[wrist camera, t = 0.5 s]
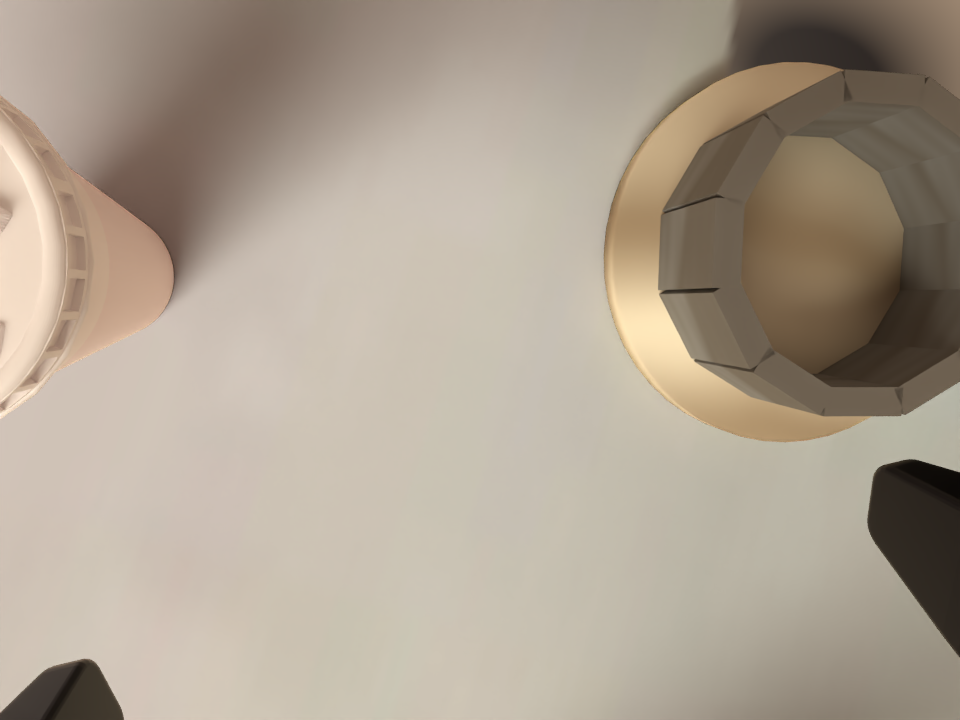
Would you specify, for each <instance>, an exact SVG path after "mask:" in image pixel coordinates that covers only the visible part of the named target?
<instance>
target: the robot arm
mask: <svg viewBox="0 0 960 720" xmlns="http://www.w3.org/2000/svg"><path fill="white" fill-rule="evenodd" d="M867 523H868V529H869V532H870V535H871V537H872V539H873V540H874V542H875V544H876V545H877V546H878V548H879V549H880V551H881V552H882V553H883V555H884V556H885V557H886V559H887V560H888V561H889V563H890V564H891V566H892V567H893V568H894V570H895V571H896V572H897V574H898V575H899V577H900V578H901V579H902V581H903V582H904V583H905V585H906V586H907V587H908V589H909V590H910V592H911V593H912V594H913V596H914V597H915V598H916V600H917V601H918V603H919V604H920V605H921V607H922V608H923V609H924V611H925V612H926V613H927V615H928V616H929V618H930V619H931V620H932V622H933V623H934V624H935V626H936V627H937V629H938V630H939V631H940V633H941V634H942V635H943V637H944V638H945V639H946V641H947V642H948V643H949V644H950V646H951V647H952V648H953V650H954V651H955V652H956V653H957V655H958V656H959V657H960V472H956V471H953V470H950V469H946V468H943V467H939V466H936V465H932V464H929V463H926V462H922V461H919V460H913V459H909V460H903V461H899V462H894V463H890V464H886V465H883V466H881V467H879V468H878V469H877V470H876V472H875V473H874V476H873V481H872V489H871V496H870V503H869V510H868V518H867ZM0 720H124V717H123V713H122V710H121V707H120V705H119V703H118V701H117V700H116V698H115V696H114V694H113V692H112V690H111V688H110V687H109V685H108V683H107V681H106V679H105V677H104V675H103V674H102V672H101V670H100V668H99V667H98V665H97V664H96V663H95V662H94V661H92V660H90V659H81V660H77V661H73V662H68V663H64V664H60V665H56V666H53V667H50V668H48V669H46V670H45V671H44V672H42V673H41V674H40V675H39V676H38V677H37V678H36V679H35V680H34V681H33V682H32V683H31V684H30V685H29V686H27V687H26V688H25V689H24V690H23V691H22V692H21V693H20V694H19V695H18V696H17V697H16V698H15V699H14V700H13V701H12V702H11V703H10V704H9V705H8V706H7V707H6V708H5V709H4V710H3V711H2V712H1V713H0Z"/></svg>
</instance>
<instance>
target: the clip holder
mask: <svg viewBox="0 0 960 720" xmlns="http://www.w3.org/2000/svg"><path fill="white" fill-rule="evenodd" d="M604 275H605V284H606V291H607V297H608V303H609V306H610V310H611V313H612V317H613V320H614V323H615V326H616V329H617V331H618V333H619V336H620V338H621V340H622V342H623V345H624V347H625V349H626V350H627V352H628V354H629V355H630V357H631V359H632V360H633V362H634V364H635V365H636V367H637V368H638V369H639V371H640V372H641V373H642V374H643V376H644V377H645V378H646V379H647V381H648V382H649V383H650V384H651V385H652V386H653V387H654V388H655V389H656V390H657V391H658V392H659V393H660V394H661V395H662V396H663V397H664V398H665V399H666V400H668V401H669V402H670V403H672V404H673V405H675V406H676V407H677V408H679V409H680V410H682V411H683V412H684V413H686V414H688V415H690V416H692V417H694V418H696V419H697V420H699V421H701V422H703V423H705V424H708V425H711V426H713V427H716V428H718V429H721V430H724V431H727V432H730V433H732V434H735V435H738V436H741V437H746V438H751V439H756V440H761V441H775V442H792V441H804V440H811V439H815V438H820V437H824V436H829V435H832V434H834V433H837V432H840V431H842V430H845V429H848V428H850V427H852V426H854V425H856V424H858V423H860V422H862V421H864V420H866V419H868V418H870V417H871V416H901V414H904V415H906V414H907V413H909V412H911V411H912V410H914V409H916V408H917V407H919V406H921V405H922V404H924V403H925V402H927V401H929V400H930V399H932V398H934V397H935V396H937V395H939V394H940V393H942V392H943V391H945V390H947V389H948V388H950V387H952V386H953V385H955V384H957V383H958V382H960V100H959V99H958V98H957V97H955V96H954V95H953V94H951V93H950V92H949V91H948V90H946V89H945V88H944V87H942V86H941V85H940V84H938V83H937V82H936V81H935V80H933V79H932V78H931V77H927V78H925V75H919V74H904V73H891V72H890V73H889V72H876V71H862V70H847V69H845V70H842V69H839V68H836V67H832V66H828V65H821V64H815V63H808V62H781V63H775V64H768V65H761V66H757V67H754V68H750V69H747V70H744V71H740V72H737V73H735V74H732V75H730V76H728V77H726V78H724V79H722V80H719V81H717V82H715V83H713V84H712V85H710V86H709V87H707V88H706V89H704V90H702V91H701V92H699V93H698V94H696V95H695V96H693V97H692V98H690V99H689V100H687V101H686V102H684V103H683V104H681V105H680V106H679V107H677V108H676V109H675V110H674V111H673V112H672V113H670V114H669V115H668V116H667V117H666V118H665V119H663V120H662V121H661V122H660V123H659V124H658V125H657V127H656V128H655V129H654V130H653V131H652V132H651V133H650V134H649V136H648V137H647V138H646V139H645V140H644V142H643V143H642V145H641V146H640V148H639V149H638V150H637V152H636V153H635V155H634V156H633V158H632V159H631V161H630V163H629V165H628V167H627V169H626V171H625V173H624V175H623V177H622V179H621V181H620V183H619V186H618V189H617V191H616V194H615V197H614V200H613V202H612V205H611V210H610V214H609V219H608V223H607V228H606V236H605V247H604Z"/></svg>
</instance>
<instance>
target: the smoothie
mask: <svg viewBox="0 0 960 720" xmlns="http://www.w3.org/2000/svg"><path fill="white" fill-rule="evenodd" d="M173 284H174V270H173V264H172V260H171V257H170V254H169V252H168V250H167V248H166V246H165V244H164V243H163V241H162V240H161V239H160V237H159V236H158V235H157V234H156V233H155V232H154V231H153V230H152V229H151V228H150V227H149V226H147V225H146V224H145V223H143V222H142V221H141V220H139V219H138V218H137V217H135V216H134V215H133V214H131V213H130V212H129V211H127V210H126V209H124V208H123V207H122V206H120V205H119V204H118V203H116V202H115V201H114V200H112V199H111V198H110V197H108V196H107V195H105V194H104V193H103V192H101V191H100V190H99V189H97V188H96V187H95V186H93V185H92V184H91V183H89V182H88V181H87V180H85V179H84V178H82V177H81V176H80V175H78V174H77V173H76V172H74V171H73V170H72V169H70V168H69V167H68V166H67V164H66V163H65V162H64V160H63V159H62V158H61V157H60V155H59V154H58V153H57V151H56V150H55V149H54V148H53V146H52V145H51V144H50V143H49V141H48V140H47V139H46V137H45V136H44V135H43V134H42V132H41V131H40V130H39V128H38V127H37V126H36V125H35V123H34V122H33V121H32V120H31V119H30V118H28V117H27V116H26V115H24V114H23V113H22V112H21V111H19V110H18V109H17V108H16V107H14V106H13V105H12V104H10V103H9V102H8V101H7V100H5V99H4V98H3V97H2V96H0V419H1V418H2V417H4V416H5V415H7V414H8V413H10V412H11V411H12V410H14V409H15V408H17V407H18V406H20V405H21V404H23V403H24V402H25V401H27V400H28V399H30V398H31V397H33V396H34V395H36V394H37V393H38V392H39V391H40V389H41V388H42V387H43V386H44V385H45V383H46V382H47V381H48V380H49V379H50V377H51V376H52V375H53V374H54V373H55V372H56V371H59V370H61V369H63V368H65V367H67V366H69V365H71V364H73V363H75V362H77V361H79V360H81V359H83V358H85V357H87V356H89V355H91V354H93V353H95V352H97V351H99V350H101V349H103V348H105V347H108V346H110V345H112V344H114V343H116V342H118V341H120V340H122V339H124V338H126V337H128V336H130V335H132V334H134V333H136V332H138V331H140V330H142V329H144V328H146V327H147V326H149V325H150V324H151V323H153V322H154V321H155V320H156V319H157V318H158V317H159V316H160V315H161V313H162V312H163V311H164V309H165V308H166V306H167V304H168V302H169V299H170V297H171V294H172V290H173Z"/></svg>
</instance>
